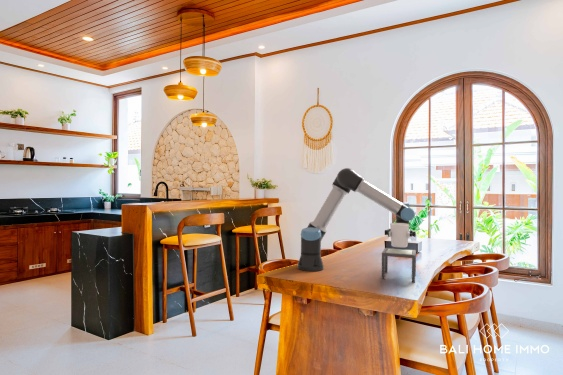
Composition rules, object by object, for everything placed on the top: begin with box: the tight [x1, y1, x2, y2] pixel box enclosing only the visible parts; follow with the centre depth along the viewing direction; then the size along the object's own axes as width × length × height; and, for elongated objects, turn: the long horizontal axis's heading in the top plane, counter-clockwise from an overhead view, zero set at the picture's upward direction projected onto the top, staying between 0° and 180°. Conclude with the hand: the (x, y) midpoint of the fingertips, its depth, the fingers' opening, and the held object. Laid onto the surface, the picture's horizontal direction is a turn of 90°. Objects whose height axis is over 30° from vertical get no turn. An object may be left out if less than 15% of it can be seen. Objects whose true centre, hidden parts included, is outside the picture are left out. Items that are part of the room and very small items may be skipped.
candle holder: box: [390, 222, 410, 248], centre depth 207 cm, size 10×10×12 cm
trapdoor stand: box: [381, 247, 417, 284], centre depth 208 cm, size 17×18×14 cm
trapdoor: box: [386, 248, 414, 255], centre depth 208 cm, size 13×14×1 cm
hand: (399, 235), depth 202 cm, fingers closed on candle holder, 9 cm apart
